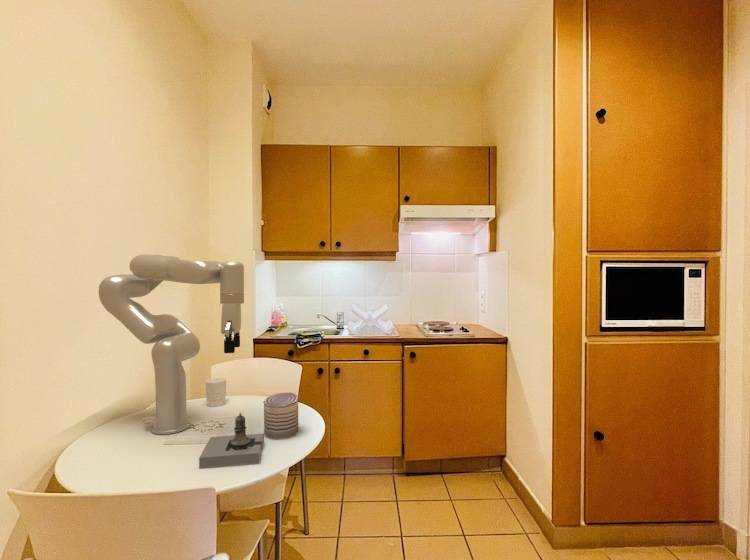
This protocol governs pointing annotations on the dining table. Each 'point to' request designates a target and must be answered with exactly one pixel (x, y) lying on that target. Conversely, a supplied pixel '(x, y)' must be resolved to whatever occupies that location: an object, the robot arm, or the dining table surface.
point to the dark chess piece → (240, 434)
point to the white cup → (216, 391)
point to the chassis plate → (231, 452)
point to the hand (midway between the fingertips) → (232, 349)
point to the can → (281, 416)
